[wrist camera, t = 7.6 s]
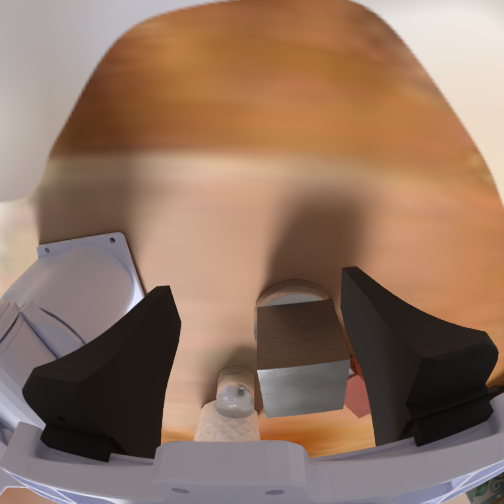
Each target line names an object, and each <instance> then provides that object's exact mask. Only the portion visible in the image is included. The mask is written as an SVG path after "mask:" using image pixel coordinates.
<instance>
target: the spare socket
mask: <svg viewBox="0 0 504 504" xmlns="http://www.w3.org/2000/svg"><path fill="white" fill-rule="evenodd" d="M215 409H216V411H217V412H218V413H219V414H220V415H222V416H224V417H227V418H233V419H240V418H245V417H248V416H250V415H251V414H252V413H253V412H254V374H253V373H252V372H251V371H250V370H249V369H247V368H244V367H241V366H230V367H226V368H224V369H223V370H221V371H220V373H219V377H218V386H217V395H216V404H215Z"/></svg>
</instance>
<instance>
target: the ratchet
mask: <svg viewBox="0 0 504 504" xmlns="http://www.w3.org/2000/svg"><path fill="white" fill-rule="evenodd" d="M326 299H329V297H328V295H327V294H326V292H325V291H324V290H323V289H322V288H321V287H320V286H318V285H316V284H314V283H312V282H309V281H305V280H287V281H283V282H280V283H277V284H275V285H273V286H271V287H270V288H268V289H267V290H266V291H264V292H263V293H262V295H261V296H260V297H259V299H258V300H257V303H256V305H255V311H254V334H255V339H256V342H257V307H262V306H272V305H282V304H291V303H300V302H309V301H318V300H326ZM350 359H351V360H350V368H349V375H348V381H347V388H346V394H345V400H344V404H345V405H346V406H347V407H348V408H349V409H350V410H351V411H352V412H353V413H354V414H355V415H356V416H358V417H359V418H361V417H363V416H365V415H367V414H370V413H371V410H370V405H369V400H368V395H367V390H366V386H365V382H364V377H363V374H362V371H361V367H360V365H359V363H358V362H357V361H356V360H355V358H354V357H353V356H351V357H350Z"/></svg>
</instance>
